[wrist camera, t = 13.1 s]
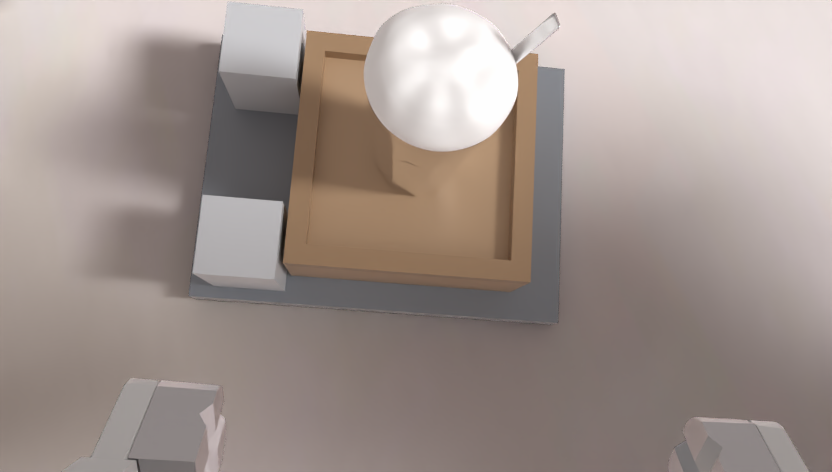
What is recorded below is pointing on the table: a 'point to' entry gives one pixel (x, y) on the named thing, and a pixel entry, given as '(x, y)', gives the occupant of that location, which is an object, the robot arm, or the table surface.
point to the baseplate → (367, 190)
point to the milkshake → (439, 90)
